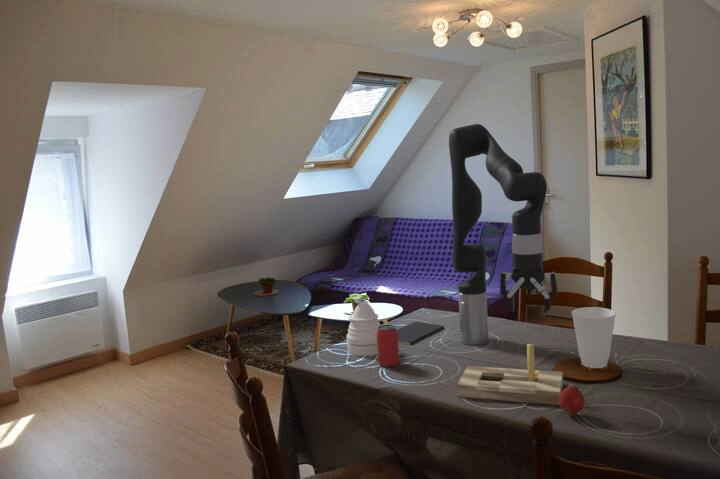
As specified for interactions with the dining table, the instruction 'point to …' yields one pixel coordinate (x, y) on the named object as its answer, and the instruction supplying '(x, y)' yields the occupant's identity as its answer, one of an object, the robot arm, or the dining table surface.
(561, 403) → the onion
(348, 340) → the honey pot
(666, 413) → the dining table surface
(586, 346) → the cup
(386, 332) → the beer can
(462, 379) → the keyhole board
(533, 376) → the headed peg
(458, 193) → the robot arm
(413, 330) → the notebook
